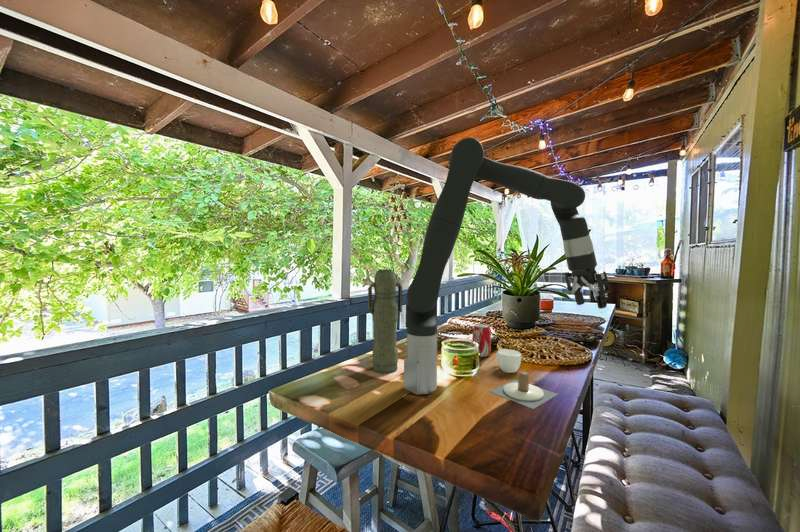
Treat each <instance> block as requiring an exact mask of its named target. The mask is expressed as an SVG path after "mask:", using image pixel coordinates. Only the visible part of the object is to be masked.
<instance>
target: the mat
mask: <svg viewBox="0 0 800 532" xmlns="http://www.w3.org/2000/svg"><path fill="white" fill-rule="evenodd" d="M515 382H518V379H512V380H511V381H510V380H509V382H505V383H504V384H502V385H499V386H496V387H495V388H493V389H491V390H488V392H489V393H491V394H494V395H497V396H499V397H501V398H504V399H507V400H509V401H512V402H514V403H517V404H520V405H522V406H524V407H527V408H529V409H532V410H534V409H536V408H537V407H539V406H541V405H543V404H545V403H546V402H548V401H550V400H551V399H554V398H556V396H559V393H556V392H553V391H550V390H547V389H545V388H541V387H539V388H540V389H541V390H542V391H543V392H544V397H543V398H542V399H541V400H538V401H522V400H517V399H514V398H511V397H509V396H508V395H506V394H505V393H504V386H505V385H506V384H508V383H515Z"/></svg>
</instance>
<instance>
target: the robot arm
mask: <svg viewBox="0 0 800 532" xmlns="http://www.w3.org/2000/svg"><path fill="white" fill-rule="evenodd" d="M484 151H485V150H484V147H483V145H482V143H481V142H480V141H479V140H478V139H477V138H475V137H464V138H462V139H460V140H459V141H458V142H456V143H455V145H454V146H453V147H452V149H451V152H450V154H449V157H448V162H449V164H448V165H449V168H448V173H447V175H446V178H445V179H446V180H445V183H444V186H443V188H442V191H441V192H440V194H439V196H438V198H437V201H436V203H435V205H434V207H433V210H432V213H431V215H430V218H429V221H428V225H427V228H426V230H425V231H426V232H425V234H424V235H425V236H424V240H423V243H422V250H421V256H420V260H419V261H420V262H419V264H418V267H417V270H416V272H415V275H414V277H413V279H412V281H411V283H410V285H409V286H408V288H407V292H406V301H407V302H406V306H407V309H406V312H407V313H406V357H404V358H403V389H404V390H406V391H408V392H410V393H412V394H414V395H416V396H418V395H429V394H432V393H433V392H434V391H435V390H437V387H438V385H437V383H438V381H437V380H438V299H439V293H440V289H441V288H440V287H441V283H442V280H443V275H444V271H445V269H446V267H447V265H448V264H447V263H449V260H450V257H451V255H452V252H453V250H454V247H455V244H456V242H457V240H458V237H459V235H460V230H461V227H462V224H463V220H464V216H465V213H466V209H467V204H468V200H469V195H470V192H471V188H472V187H473V184H474V181H475V180H476V179H478V180H482V181H486V182H489V183H492V184H496V185H499V186H502V187H504V188H507V189H510V190H511V191H515V192H517V193H519V194H521V195H524V196H527V197H529V198H531V199H535V200H539V201H540V200H541V201H542V200H545V201H549V202H550V208H551V210H552V213H553V215H554V217H555V220H556V222H557V223H558V225H559V229H560V233H561V237H562V242H563V243H562V246H563V251H564V252H563V253H564V256H565V260H566V264H567V269H568V271H566V272H565V273H564V277H565V282H566V286H567V287H566V288H567V290H568V291H569V292H570V291H571V292H572V294H573V295H574V299H575V302H576V303H575V304H576V305H577V306H582V305H584V304H585V299H584V298H585V297H584V294H583V292H582V289H583V287H585V288H588V289H589V291H592V292H593V293H594V294H595V299H596V303H597V304H596V305H597V308H598V309H599V310H602V309H605V308H607V305H608V303H607V298H606V294H609V293H611V287H610V283H609V280H608V276H607V272H606V271H600V272H597V271H596V267H597V266H598V263H597V259H596V258H597V257H596V254H595V253H596V252H595V248H594V244H593V241H592V239H591V236H590V231H589V227H588V222H587V220H586V218H585V217H584V216H582V215H580V213H579V211H578V209H577V208H578V207H580V206H581V205H582V204H583V203H584V201H585V199H586V192H585V190H584V188H583V187H582V186H581V185H579V184H577V183H576V182H572V181H569V180H566V179H560V178H555V177H550V176H548V175H546V174H543V173H541V172H538V171H535V170H533V169H531V168H527V167H523V166H518V165H512V164H507V163H503V162H499V161H496V160H493V159H490V158H489V157H486V156H485V152H484Z"/></svg>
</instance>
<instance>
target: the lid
mask: <svg viewBox="0 0 800 532" xmlns="http://www.w3.org/2000/svg"><path fill="white" fill-rule="evenodd" d="M517 380H518V382H515V383H508V382H507V383H508V384H506V383H505V384H506V385H505V386H504V393H505V394H506V395H508V396H509V397H511V398H514V399H517V400H522V401H538V400H541V399H542V398H543V397H544V392H543V391H542V390H541V389H540V388H541V387H539V386H536V385H533V384H531V383H530V373H529V372H527V371H522V370H521V371H518V373H517Z"/></svg>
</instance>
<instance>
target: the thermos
mask: <svg viewBox="0 0 800 532" xmlns="http://www.w3.org/2000/svg"><path fill="white" fill-rule="evenodd" d="M373 287H374V288H373ZM397 288H398V295H397V296H398V298H397V296H396V293H397ZM373 289H374V291H373ZM373 292H374V297H373V295H372V294H373ZM367 296H368V297H367V302H368V303H367V305H368V306H367V307H368V308H367V311H368V312H369V313H370V314H371V316H372V321H373V349H372V364H373V365H372V370H373V372H375V373H378V374H392V373H395V372H397V371H398V362H399V350H398V347H397V322H398V319H399V314H400V313H402V310H403V286H402V285H401V283H399V282H397V277H396V275H395V271H394V270H392V269H378V270H377V271H376V272H375V275H374V279H373V283H371V284H370V285H369V286H368V289H367ZM372 297H373V298H372ZM373 299H374V300H373ZM397 299H398V302H397ZM372 301H373V302H372Z"/></svg>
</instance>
